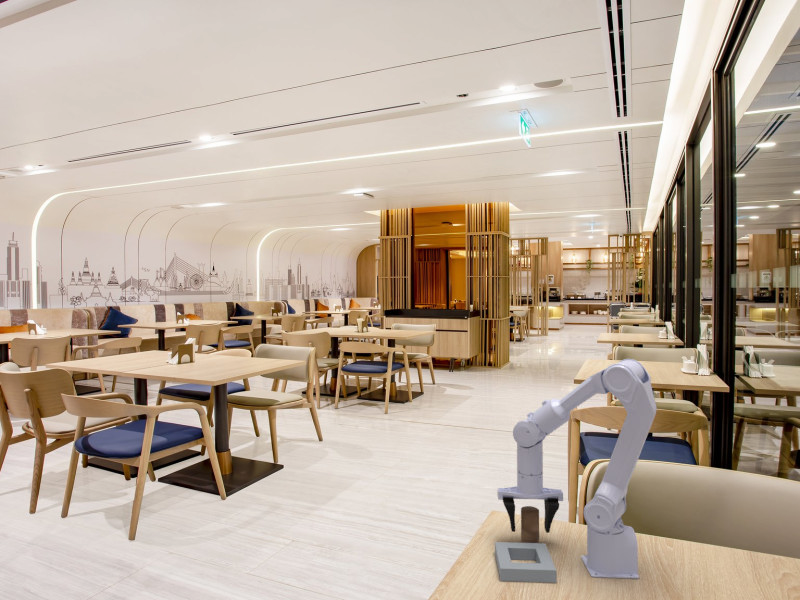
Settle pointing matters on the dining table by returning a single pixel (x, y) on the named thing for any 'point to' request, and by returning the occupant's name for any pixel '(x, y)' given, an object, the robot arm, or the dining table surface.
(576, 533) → the dining table surface
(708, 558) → the dining table surface
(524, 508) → the plug
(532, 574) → the socket block
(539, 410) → the robot arm
